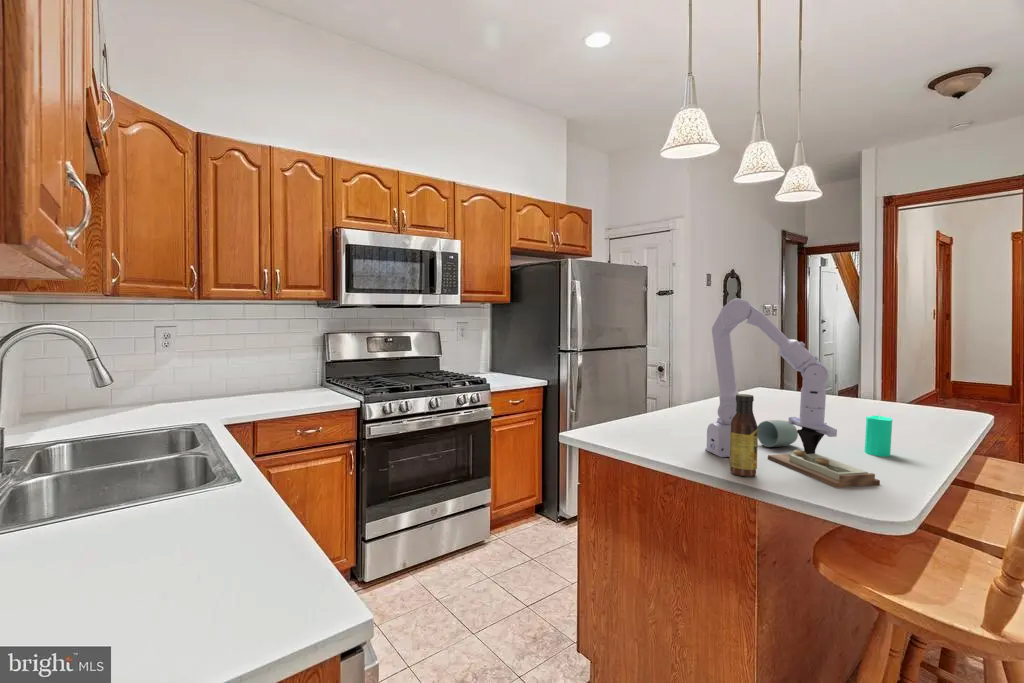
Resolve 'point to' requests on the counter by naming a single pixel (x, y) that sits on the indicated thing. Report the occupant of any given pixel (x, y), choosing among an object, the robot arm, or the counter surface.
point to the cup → (776, 433)
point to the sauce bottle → (743, 438)
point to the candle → (878, 435)
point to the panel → (830, 470)
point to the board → (843, 479)
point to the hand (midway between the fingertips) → (809, 456)
